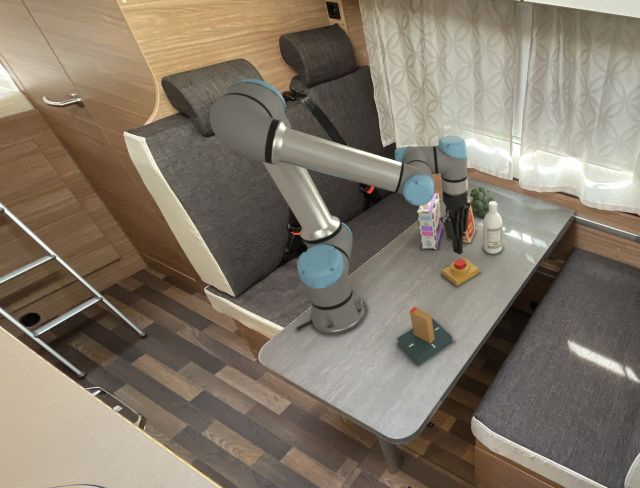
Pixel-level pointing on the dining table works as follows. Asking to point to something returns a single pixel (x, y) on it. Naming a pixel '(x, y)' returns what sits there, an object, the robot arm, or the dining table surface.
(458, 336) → the dining table surface
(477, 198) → the vegetable
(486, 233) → the bath foam
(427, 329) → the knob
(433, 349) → the panel
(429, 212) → the candy box
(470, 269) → the button box
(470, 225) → the milk carton
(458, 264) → the button
